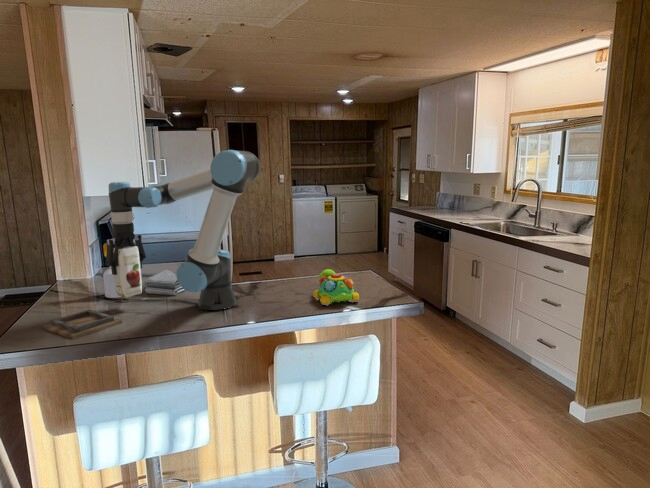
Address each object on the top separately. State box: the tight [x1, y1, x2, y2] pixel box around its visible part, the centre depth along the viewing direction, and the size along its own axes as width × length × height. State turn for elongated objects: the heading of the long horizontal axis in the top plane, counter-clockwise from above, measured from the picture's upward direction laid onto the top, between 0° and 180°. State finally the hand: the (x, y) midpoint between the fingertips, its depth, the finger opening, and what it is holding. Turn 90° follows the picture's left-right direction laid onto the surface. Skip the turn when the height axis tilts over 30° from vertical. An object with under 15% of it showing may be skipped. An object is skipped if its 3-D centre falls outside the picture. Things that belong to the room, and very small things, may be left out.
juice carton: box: [113, 245, 143, 298], centre depth 176 cm, size 8×9×19 cm
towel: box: [144, 269, 186, 296], centre depth 206 cm, size 15×18×8 cm
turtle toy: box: [313, 268, 360, 304], centre depth 191 cm, size 17×23×12 cm
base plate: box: [43, 309, 123, 340], centre depth 161 cm, size 18×18×3 cm
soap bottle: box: [102, 242, 123, 299], centre depth 196 cm, size 9×9×25 cm
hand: (128, 279), depth 177 cm, fingers closed on juice carton, 9 cm apart
